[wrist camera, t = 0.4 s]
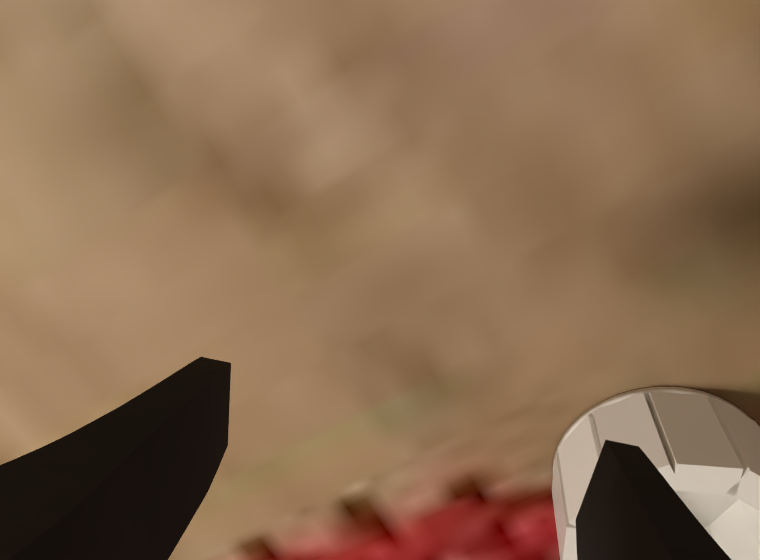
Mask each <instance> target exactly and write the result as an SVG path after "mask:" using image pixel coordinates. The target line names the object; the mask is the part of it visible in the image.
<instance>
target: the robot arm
mask: <svg viewBox="0 0 760 560" xmlns="http://www.w3.org/2000/svg"><path fill="white" fill-rule="evenodd" d="M230 373H231V363H228V362H223V361H219V360H214V359H209V358H204V357H200V358H198V359H196V360H195V361H193V362H191V363H190V364H188V365H187V366H185V367H183V368H182V369H180V370H179V371H177V372H175V373H174V374H172V375H171V376H169V377H167V378H166V379H164V380H163V381H161V382H160V383H158V384H156V385H155V386H153V387H152V388H150V389H148V390H147V391H145V392H143V393H142V394H140V395H138V396H137V397H135V398H133V399H132V400H130V401H128V402H127V403H125V404H123V405H122V406H120V407H118V408H117V409H115V410H113V411H111V412H109V413H107V414H106V415H104V416H102V417H100V418H98V419H96V420H95V421H93V422H91V423H89V424H87V425H85V426H84V427H82V428H80V429H78V430H76V431H74V432H73V433H71V434H69V435H67V436H65V437H63V438H61V439H59V440H56V441H54V442H52V443H50V444H48V445H46V446H44V447H42V448H39V449H37V450H35V451H32V452H30V453H28V454H26V455H23V456H21V457H19V458H17V459H14V460H12V461H9V462H7V463H5V464H2V465H0V560H168V558H169V557H170V555H171V553H172V552H173V550H174V548H175V547H176V545H177V543H178V542H179V540H180V538H181V537H182V535H183V533H184V531H185V530H186V528H187V526H188V525H189V523H190V521H191V520H192V518H193V516H194V514H195V513H196V511H197V509H198V508H199V506H200V504H201V502H202V501H203V499H204V497H205V495H206V494H207V492H208V490H209V488H210V485H211V483H212V481H213V479H214V476H215V474H216V472H217V470H218V467H219V465H220V462H221V460H222V458H223V455H224V453H225V451H226V448H227V446H228V424H229V399H230ZM576 545H577V560H731V559H730V557H729V556H728V555H727V554H726V553H725V552H724V551H723V549H722V548H721V547H720V546H719V545H718V544H717V542H716V541H715V540H714V539H713V538H712V537H711V535H710V534H709V533H708V532H707V531H706V529H705V528H704V527H703V526H702V525H701V523H700V522H699V521H698V520H697V519H696V517H695V516H694V515H693V514H692V512H691V511H690V510H689V509H688V507H687V506H686V505H685V504H684V502H683V501H682V500H681V499H680V497H679V496H678V495H677V494H676V492H675V491H674V490H673V488H672V487H671V486H670V485H669V483H668V482H667V481H666V480H665V478H664V477H663V476H662V474H661V473H660V472H659V471H658V469H657V468H656V467H655V466H654V464H653V463H652V462H651V460H650V459H649V458H648V457H647V456H646V454H645V453H644V452H643V451H642V450H641V448H640V447H639V446H634V445H629V444H625V443H620V442H615V441H610V440H605V442H604V445H603V448H602V450H601V453H600V456H599V458H598V461H597V464H596V466H595V469H594V472H593V474H592V477H591V480H590V482H589V485H588V488H587V490H586V493H585V496H584V498H583V501H582V504H581V507H580V509H579V512H578V515H577V517H576Z"/></svg>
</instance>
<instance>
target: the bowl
mask: <svg viewBox="0 0 760 560" xmlns="http://www.w3.org/2000/svg"><path fill="white" fill-rule="evenodd" d="M605 440H610V441H615V442H620V443H625V444H629V445H634V446H639V447H640V448H641V450H642V451H643V452H644V453H645V454H646V456H647V457H648V458H649V459H650V460H651V462H652V463H653V464H654V466H655V467H656V468H657V469H658V471H659V472H660V473H661V474H662V476H663V477H664V478H665V480H666V481H667V482H668V483H669V485H670V486H671V487H672V488H673V490H674V491H675V492H676V494H677V495H678V496H679V497H680V499H681V500H682V501H683V502H684V504H685V505H686V506H687V507H688V509H689V510H690V511H691V512H692V514H693V515H694V516H695V517H696V519H697V520H698V521H699V522H700V523H701V525H702V526H703V527H704V528H705V529H706V531H707V532H708V533H709V534H710V535H711V537H712V538H713V539H714V540H715V541H716V542H717V544H718V545H719V546H720V547H721V548H722V549H723V551H724V552H725V553H726V554H727V555H728V556H729V557H730V559H731V560H760V426H758V425H757V423H756V422H755V421H754V420H752V419H751V418H750V417H749V416H748V415H746V414H745V413H744V412H743V411H742V410H741V409H739V408H738V407H736V406H735V405H733V404H732V403H730V402H728V401H726V400H724V399H722V398H720V397H718V396H715V395H712V394H710V393H707V392H704V391H699V390H695V389H690V388H683V387H663V386H659V387H648V388H641V389H636V390H631V391H627V392H624V393H621V394H618V395H615V396H612V397H610V398H608V399H606V400H603V401H601V402H600V403H598V404H596V405H594V406H593V407H591V408H590V409H588V410H587V411H586V412H584V413H583V414H581V415H580V416H579V417H578V418H577V419H576V420H575V421H574V422H573V423H572V424H571V425H570V426H569V428H568V429H567V430H566V432H565V433H564V434H563V436H562V438H561V440H560V441H559V443H558V446H557V449H556V451H555V455H554V460H553V482H552V495H553V503H554V511H555V520H556V528H557V536H558V544H559V552H560V560H577V545H576V517H577V515H578V512H579V509H580V507H581V504H582V501H583V498H584V496H585V493H586V490H587V488H588V485H589V482H590V480H591V477H592V474H593V472H594V469H595V466H596V464H597V461H598V458H599V456H600V453H601V450H602V448H603V445H604V442H605Z"/></svg>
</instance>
